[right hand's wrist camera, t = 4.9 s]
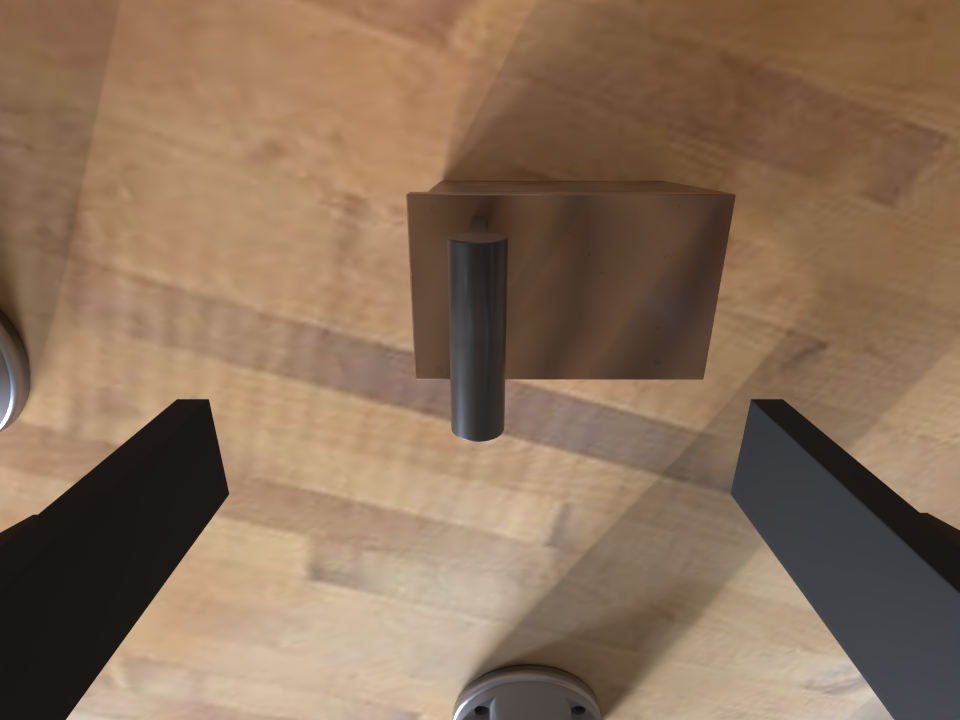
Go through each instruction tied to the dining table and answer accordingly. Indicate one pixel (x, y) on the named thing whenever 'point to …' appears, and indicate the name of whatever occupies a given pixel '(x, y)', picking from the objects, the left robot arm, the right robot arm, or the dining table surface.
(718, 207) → the lid
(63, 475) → the dining table surface
